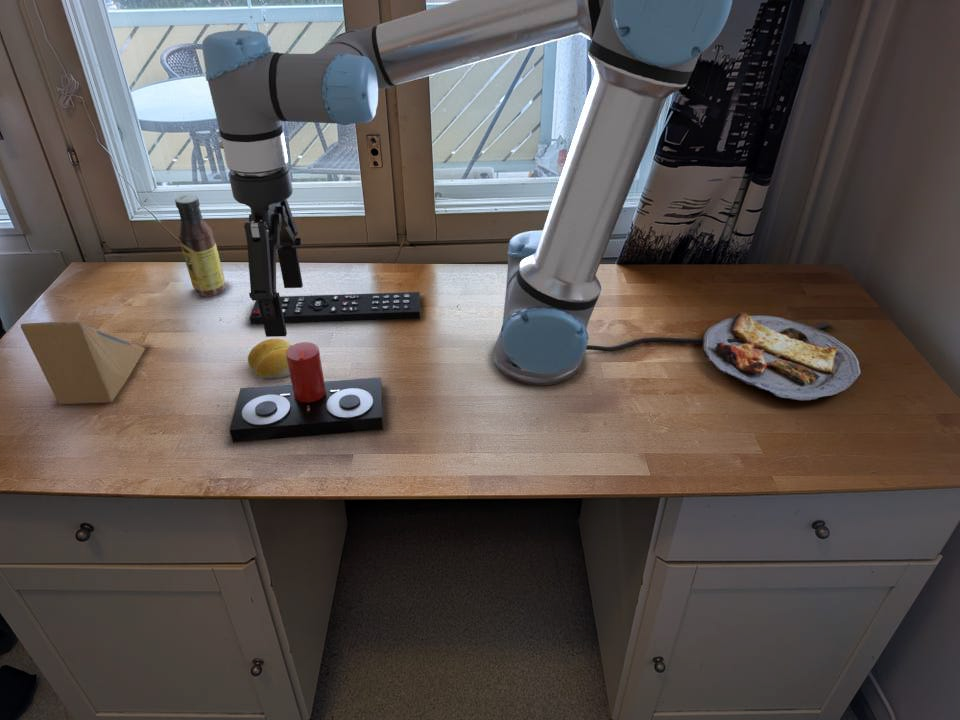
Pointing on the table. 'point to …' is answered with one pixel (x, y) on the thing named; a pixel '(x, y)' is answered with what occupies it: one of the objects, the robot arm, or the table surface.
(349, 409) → the burner rings
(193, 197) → the sauce bottle
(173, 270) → the table surface
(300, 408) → the hob
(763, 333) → the food plate
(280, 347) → the bread roll
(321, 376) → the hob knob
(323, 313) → the remote control
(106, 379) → the sandwich container
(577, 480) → the table surface
